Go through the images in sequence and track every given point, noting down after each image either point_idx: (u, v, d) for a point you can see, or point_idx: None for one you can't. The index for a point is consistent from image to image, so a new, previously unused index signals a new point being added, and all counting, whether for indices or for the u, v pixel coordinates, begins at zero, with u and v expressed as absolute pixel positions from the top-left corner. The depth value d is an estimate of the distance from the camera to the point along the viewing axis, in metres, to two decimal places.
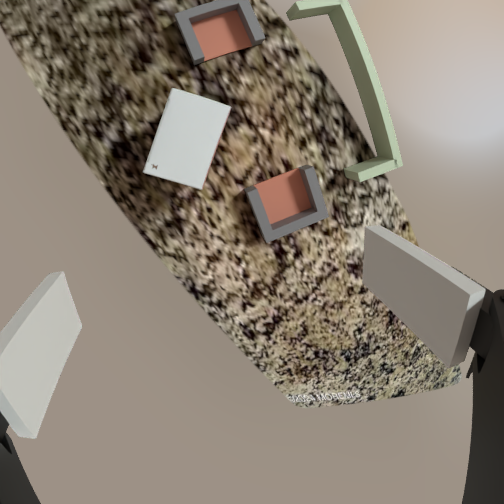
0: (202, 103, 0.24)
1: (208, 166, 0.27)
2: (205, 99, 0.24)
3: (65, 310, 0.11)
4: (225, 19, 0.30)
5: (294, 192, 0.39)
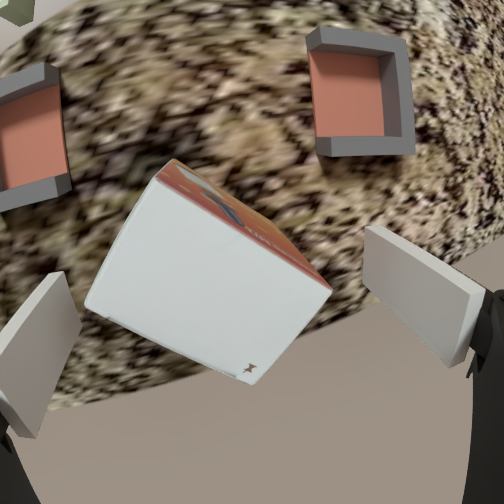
0: (129, 249, 0.10)
1: (291, 267, 0.11)
2: (120, 239, 0.10)
3: (65, 310, 0.11)
4: (5, 128, 0.15)
5: (347, 73, 0.19)
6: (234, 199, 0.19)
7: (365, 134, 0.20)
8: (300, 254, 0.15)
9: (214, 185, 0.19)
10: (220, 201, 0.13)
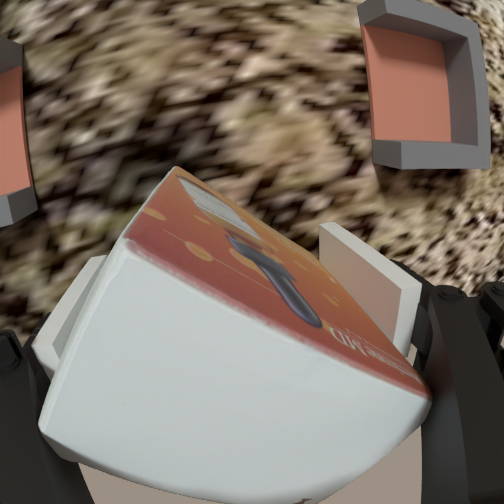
0: (87, 385, 0.04)
1: (397, 390, 0.05)
2: (67, 367, 0.04)
3: None
4: None
5: (410, 58, 0.13)
6: (266, 228, 0.13)
7: (431, 139, 0.14)
8: (375, 325, 0.09)
9: (236, 206, 0.13)
10: (262, 255, 0.07)
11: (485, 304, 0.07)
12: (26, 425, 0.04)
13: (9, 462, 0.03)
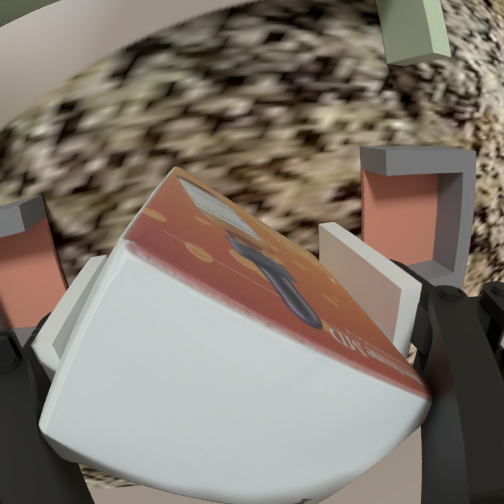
0: (88, 387, 0.04)
1: (397, 391, 0.05)
2: (68, 369, 0.04)
3: None
4: None
5: (404, 193, 0.16)
6: (266, 229, 0.13)
7: (413, 262, 0.18)
8: (375, 326, 0.09)
9: (236, 207, 0.13)
10: (262, 256, 0.07)
11: (485, 304, 0.07)
12: (25, 425, 0.04)
13: (9, 462, 0.03)
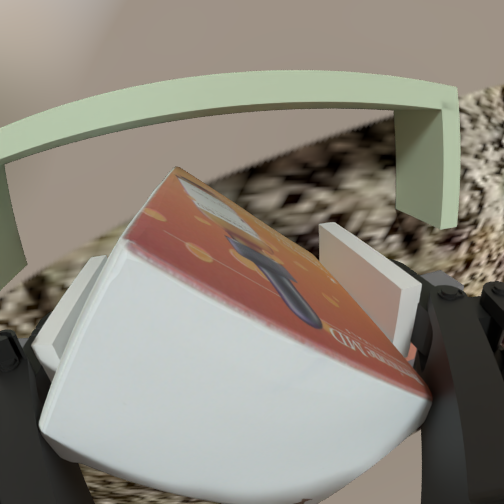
0: (87, 386, 0.04)
1: (397, 391, 0.05)
2: (68, 368, 0.04)
3: None
4: None
5: None
6: (266, 228, 0.13)
7: None
8: (375, 326, 0.09)
9: (236, 207, 0.13)
10: (262, 256, 0.07)
11: (485, 304, 0.07)
12: (26, 425, 0.04)
13: (9, 462, 0.03)
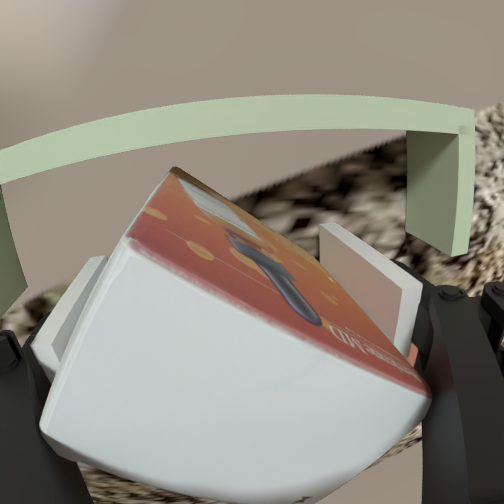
0: (89, 385, 0.04)
1: (397, 388, 0.05)
2: (69, 366, 0.04)
3: None
4: None
5: None
6: (265, 228, 0.13)
7: None
8: (374, 324, 0.09)
9: (235, 206, 0.13)
10: (262, 255, 0.07)
11: (486, 304, 0.07)
12: (25, 425, 0.04)
13: (8, 462, 0.03)
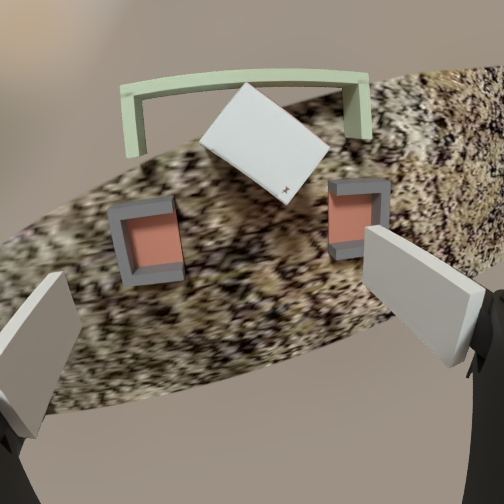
0: (231, 112, 0.20)
1: (308, 130, 0.21)
2: (227, 108, 0.20)
3: (65, 310, 0.11)
4: (135, 229, 0.32)
5: (351, 203, 0.34)
6: None
7: (358, 239, 0.36)
8: None
9: None
10: None
11: None
12: None
13: None
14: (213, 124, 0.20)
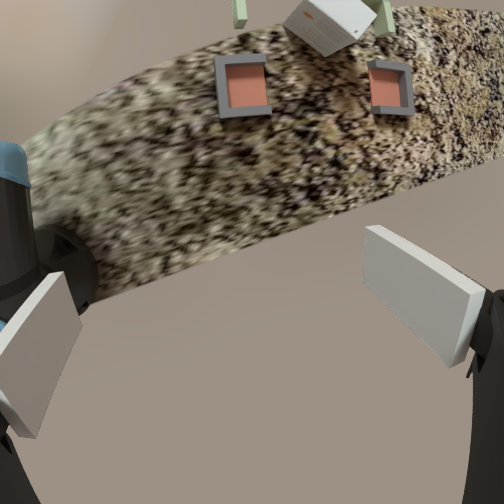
0: None
1: (364, 4, 0.27)
2: None
3: (65, 310, 0.11)
4: (231, 79, 0.38)
5: (384, 79, 0.41)
6: None
7: None
8: None
9: None
10: None
11: None
12: None
13: None
14: None
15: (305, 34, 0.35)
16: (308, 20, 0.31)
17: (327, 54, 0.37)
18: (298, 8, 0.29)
